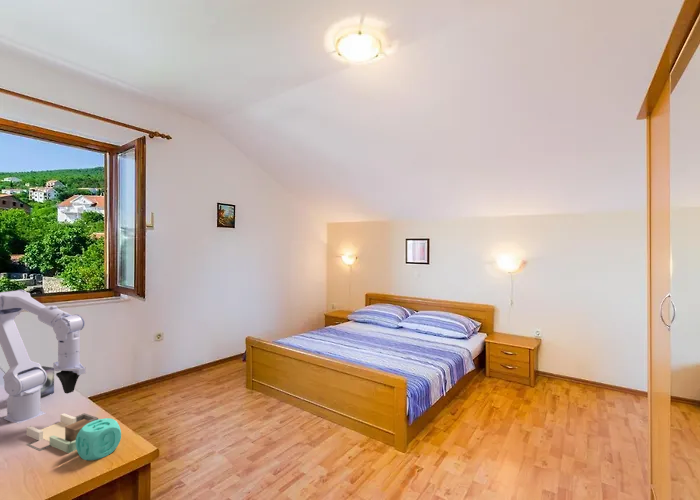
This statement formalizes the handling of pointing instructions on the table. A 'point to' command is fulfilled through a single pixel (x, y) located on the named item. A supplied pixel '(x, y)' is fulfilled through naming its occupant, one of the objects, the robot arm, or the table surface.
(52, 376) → the small box
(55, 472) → the table surface
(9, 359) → the robot arm
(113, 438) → the decorative dice
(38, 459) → the table surface
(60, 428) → the tray
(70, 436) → the walnut cube
